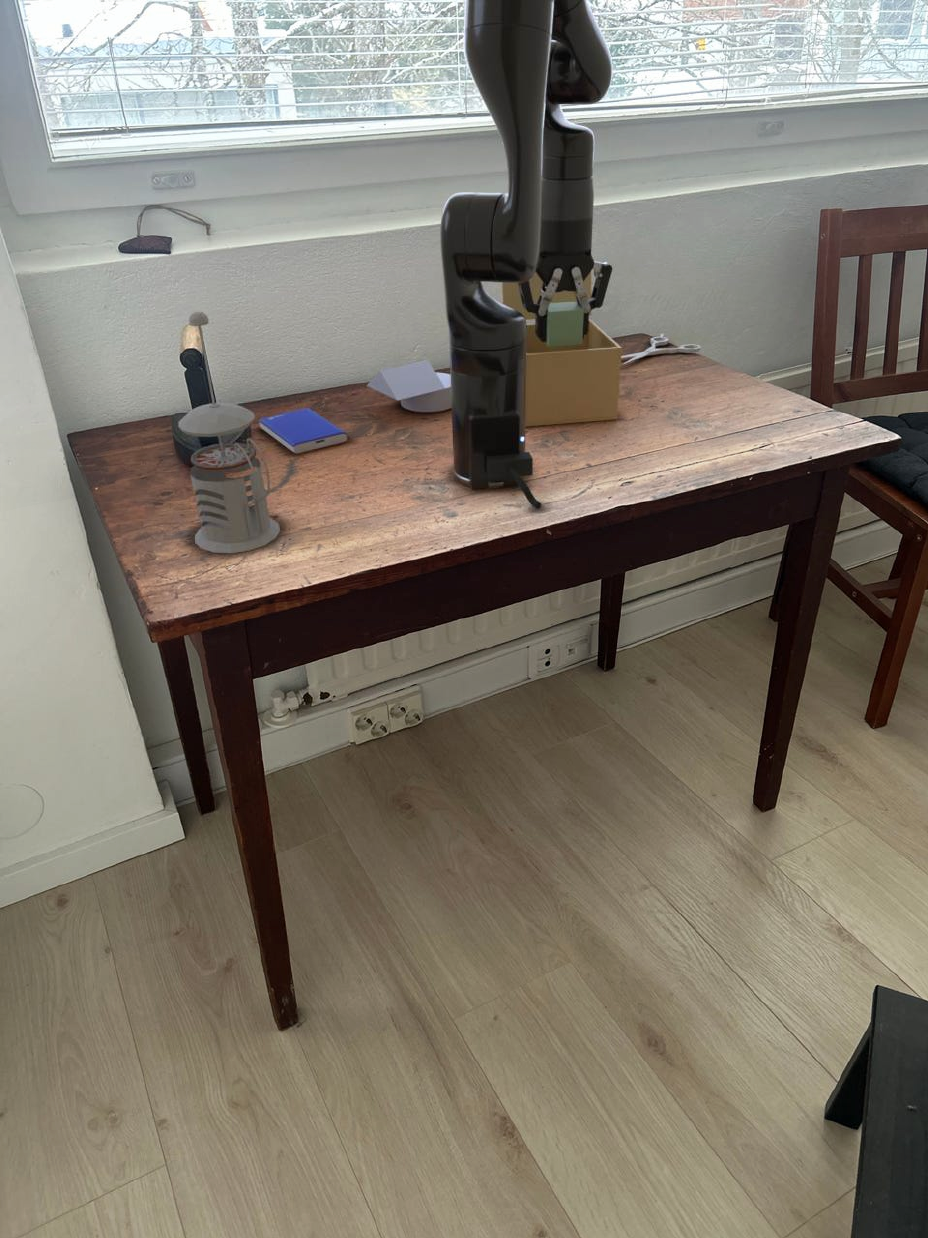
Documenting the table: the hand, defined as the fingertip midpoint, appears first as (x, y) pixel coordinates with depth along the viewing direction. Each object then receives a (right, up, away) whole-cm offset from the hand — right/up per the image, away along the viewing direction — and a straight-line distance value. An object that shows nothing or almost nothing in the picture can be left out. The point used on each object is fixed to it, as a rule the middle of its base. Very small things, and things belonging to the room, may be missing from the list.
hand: (561, 338), depth 131 cm
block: (0, 0, 0) cm, 0 cm away
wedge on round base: (-21, -8, +8) cm, 24 cm away
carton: (0, -8, +6) cm, 10 cm away
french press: (-40, -32, -28) cm, 58 cm away
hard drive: (-38, -15, -1) cm, 41 cm away
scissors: (+19, +6, +27) cm, 34 cm away
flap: (-2, +9, +6) cm, 11 cm away
